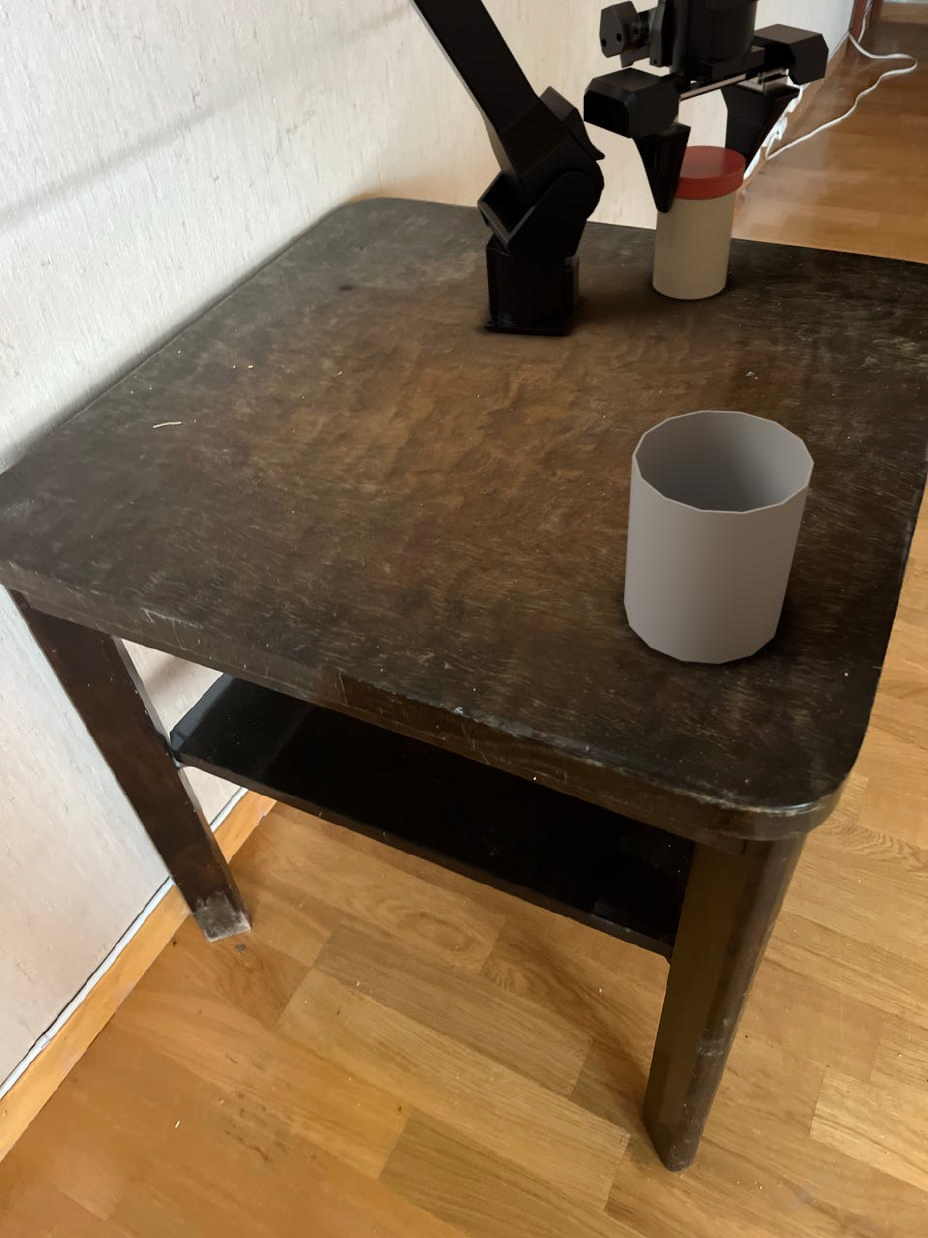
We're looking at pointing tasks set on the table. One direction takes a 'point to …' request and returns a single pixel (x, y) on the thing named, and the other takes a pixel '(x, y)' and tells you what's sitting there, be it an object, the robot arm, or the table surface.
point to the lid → (710, 172)
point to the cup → (713, 533)
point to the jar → (693, 246)
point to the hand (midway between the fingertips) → (696, 198)
